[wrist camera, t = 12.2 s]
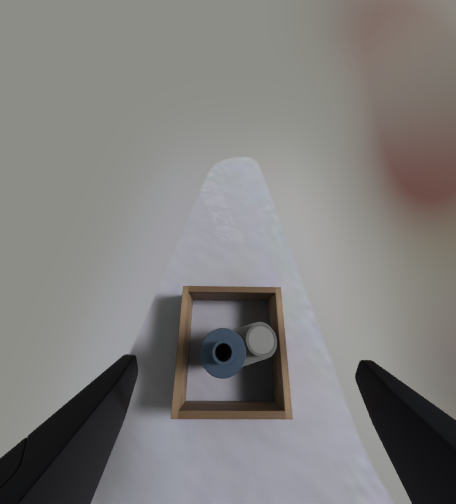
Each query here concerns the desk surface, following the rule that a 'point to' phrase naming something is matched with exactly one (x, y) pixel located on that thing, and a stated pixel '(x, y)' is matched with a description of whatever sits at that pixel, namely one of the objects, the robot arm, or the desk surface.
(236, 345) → the vaping device
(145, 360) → the desk surface
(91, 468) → the robot arm
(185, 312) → the box
